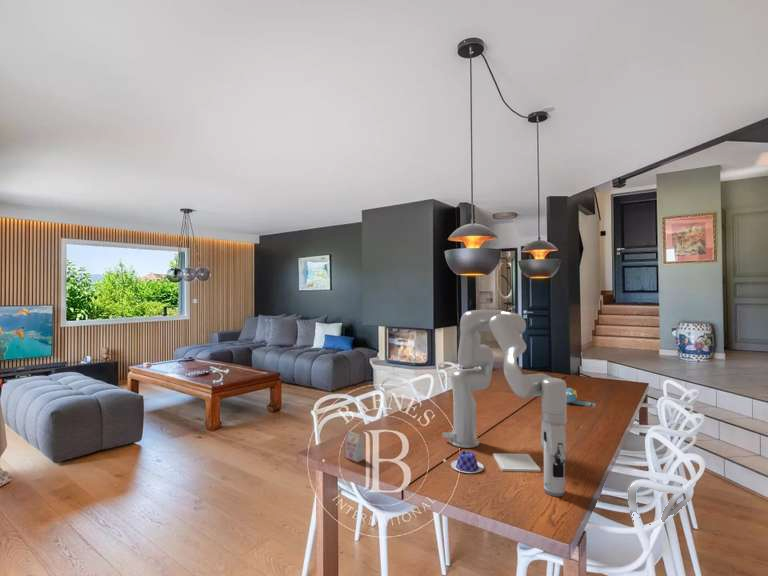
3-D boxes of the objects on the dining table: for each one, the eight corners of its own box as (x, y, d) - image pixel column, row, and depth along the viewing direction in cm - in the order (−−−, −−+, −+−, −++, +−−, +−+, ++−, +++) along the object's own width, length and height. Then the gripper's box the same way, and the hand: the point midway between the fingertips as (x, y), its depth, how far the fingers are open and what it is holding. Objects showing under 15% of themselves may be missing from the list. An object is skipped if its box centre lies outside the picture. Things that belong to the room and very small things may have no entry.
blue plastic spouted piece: (597, 388, 237) (595, 394, 225) (597, 403, 237) (595, 410, 225) (546, 383, 252) (542, 388, 239) (547, 396, 252) (542, 403, 240)
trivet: (501, 471, 146) (501, 468, 146) (492, 455, 160) (492, 453, 160) (540, 471, 146) (540, 469, 146) (528, 455, 160) (528, 453, 160)
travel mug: (543, 495, 129) (543, 432, 129) (543, 485, 135) (543, 426, 135) (565, 498, 127) (565, 435, 127) (564, 489, 133) (563, 428, 133)
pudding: (448, 461, 155) (448, 447, 155) (478, 460, 156) (478, 447, 156) (454, 475, 143) (454, 460, 143) (487, 474, 144) (487, 460, 144)
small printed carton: (351, 454, 161) (351, 429, 161) (363, 459, 156) (363, 433, 156) (344, 457, 158) (344, 432, 158) (356, 462, 153) (356, 436, 154)
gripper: (533, 408, 140) (533, 460, 140) (552, 425, 123) (552, 484, 122) (555, 409, 140) (555, 461, 139) (577, 425, 122) (577, 485, 122)
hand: (553, 471), depth 131 cm, fingers closed on travel mug, 6 cm apart
